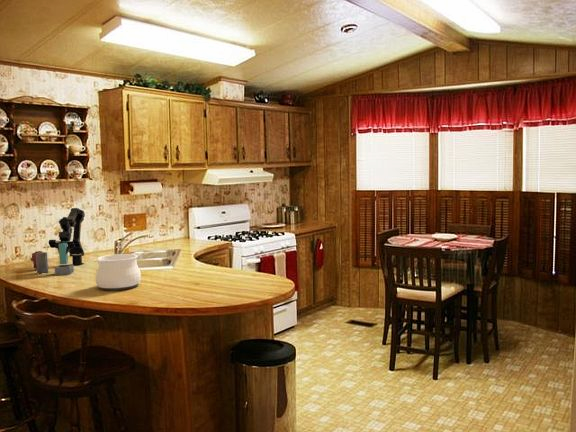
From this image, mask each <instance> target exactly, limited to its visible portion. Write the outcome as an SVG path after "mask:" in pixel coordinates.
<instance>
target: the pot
mask: <svg viewBox="0 0 576 432" xmlns="http://www.w3.org/2000/svg"><path fill="white" fill-rule="evenodd" d="M141 255H142V254H141V253H140V252H133V253H120V254H119V253H118V254H117V253H116V254H107V255H102V256H98V257H97V258H96V259H93V260H92V261H93V262H97V263H98V268H97V271H96V274H95V284H96V286H97V287H98V288H99V289H100V290H102V291H107V292H108V291H112V292H113V291H116V292H117V291H125V289H126V290H129V289H133V288H135V287H137V286H139V285H140V283H141V280H142V274H141V270H140V268H139V266H138V262H137V258H138V257H139V256H141Z"/></svg>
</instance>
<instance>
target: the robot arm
mask: <svg viewBox="0 0 576 432" xmlns="http://www.w3.org/2000/svg"><path fill="white" fill-rule="evenodd" d="M85 215H86V214H85V211H84V210H82V209H80V208H78V207H71V208H70V212H69V214H68V215H67V217H66V216H63V217H62V218H60V219H59V220H58V223H59V227H60V229H61V231H58V239H59V240H56V239H49V240H48V246H49V247H50V248H51V249H57V251H58V253H59V244H60V243H67V250H66V254H67V253H68V254H69V257H70V258H71V257H72V258H71V260H72V263H71V264H73V266H81V265H83V264H85V262H83V257H84V256H85V251H84V248H83V245H82V242H81V231H82V230H81V229H82V228H81V227H82V222H83V221H84V219H85Z"/></svg>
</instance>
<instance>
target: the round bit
mask: <svg viewBox="0 0 576 432" xmlns="http://www.w3.org/2000/svg"><path fill="white" fill-rule="evenodd" d="M48 260H49V259H48V252H47V251H46V252H44V251H42V253H36V264H37V271H36V274H37V273H39V274H38V275H43V274H42V273H46V274H48V273H49V263H48V262H49V261H48Z"/></svg>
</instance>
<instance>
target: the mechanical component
mask: <svg viewBox="0 0 576 432" xmlns="http://www.w3.org/2000/svg"><path fill="white" fill-rule="evenodd" d="M42 252H43V251H42V250H36V251H35V252H32V253H31V258H30V261H31V262H33V269H34V271H36V270H37V264H36V253H42Z"/></svg>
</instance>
